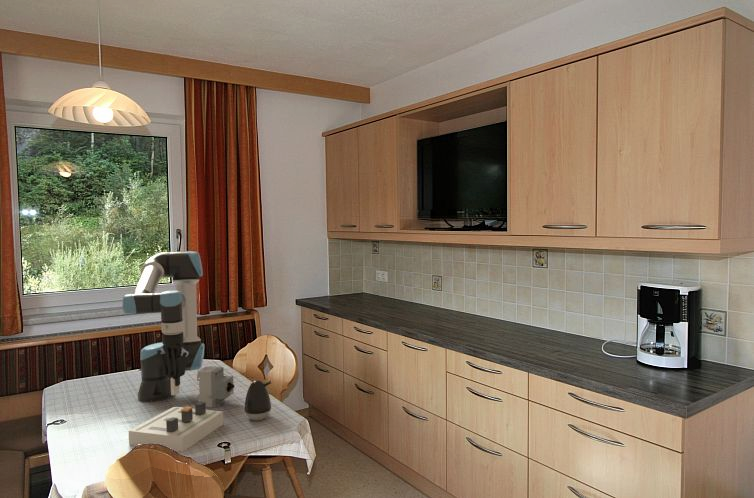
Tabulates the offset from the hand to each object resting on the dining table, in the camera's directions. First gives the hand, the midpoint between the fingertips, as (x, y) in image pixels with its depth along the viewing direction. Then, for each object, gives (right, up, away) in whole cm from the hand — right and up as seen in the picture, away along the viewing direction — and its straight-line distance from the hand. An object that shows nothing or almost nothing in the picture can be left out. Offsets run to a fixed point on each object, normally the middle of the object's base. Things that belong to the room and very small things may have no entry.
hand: (175, 393), depth 192 cm
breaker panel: (+3, -13, -6) cm, 15 cm away
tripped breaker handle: (+7, -8, -7) cm, 13 cm away
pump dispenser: (+29, -12, +8) cm, 33 cm away
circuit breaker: (+8, -12, +25) cm, 29 cm away
